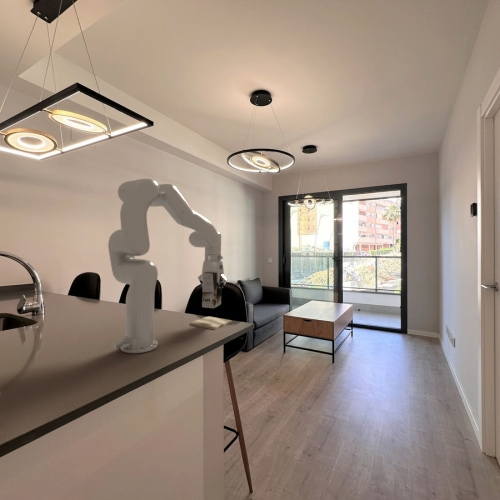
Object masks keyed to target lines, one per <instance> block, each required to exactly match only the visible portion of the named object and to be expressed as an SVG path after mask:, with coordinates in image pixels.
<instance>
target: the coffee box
mask: <svg viewBox="0 0 500 500" xmlns="http://www.w3.org/2000/svg"><path fill="white" fill-rule="evenodd" d="M216 275H217V273H207V272H205V273H203V286H202V293H201V294H202V297H201V298H202V299H201V301H202V302H201V307H202V308H205V309H207V308H209V309H215V308H218V307H219V306H220V305H221V304H222V296H220V297H217V288H218V287H217V282H216Z"/></svg>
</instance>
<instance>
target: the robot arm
mask: <svg viewBox="0 0 500 500" xmlns="http://www.w3.org/2000/svg"><path fill="white" fill-rule="evenodd" d="M117 196H118V197H119V199H120V200H121V202H122V205H121V208H120V210H119V211H120V213H119V215H120V216H119V217H120V229H117V230H115V231H113V233H111V235H110V236H109V238H108V243H107V245H108V246H107V248H108V253H109V254H108V255H109V262H110V267H111V272H112V276H113V278H114V279H115V280H116V281H117V282H119V283H120V284H125V285H129V287H128V290H127V293H126V297H125V329H124V331H125V332H124V333H125V335H124V336H122V339H121V340H120V341H118V342H114V343H112V348H113V350H117V349H120V351H121V352H124V353H127V354H142V353H147V352H151V351H153V350H155V349H157V348H158V346H159V343H158V341H157V340H156V339H154V336H155V335H154V334H155V332H154V330H155V329H154V328H155V294H156V293H155V291H156V285H157V280H158V275H159V273H158V268H157V265H155V263H154V262H152V261H151V260H148V259H141V258H136V257H141V256H145V255H146V254H148V252H149V250H150V245H151V244H150V243H151V242H150V237H149V235H150V234H149V228H148V227H149V226H148V219H147V216H148V215H147V214H148V211H149V208H151V207H153V208H154V207H163V208H164V209H165V211H167V213H168V214H169V216H171V218H172V219H173V220H174V222H175V223H176V224H178V225H181V226H182V227H185V228H188V229H190V230H194V231H192V232H191V233H190V234H189V237H188V242H189V244H190V245H191V246H192V247H195V248H204V260H203V264H202V269H201V274H200V275H199V276H198V277H197V279H198V281H199V284H201V285H200V286H201V287H203V273H205V272H207V273H217V275H216V282H217V287H218V288H217V297H220V296H221V297H222V294H223V288H224V286H225V285H226V283H227V282H228V279H227V278H226V276H225V270H224V264H223V261H222V260H223V256H222V233H220V232H218V230H217V229H216V228H215V226H214V225H213V223H212V222H211V221H209V220H208V219H207V218H206V217H204V216H202V214H199V213H198V212H196V211H195V210H194V209H193V208H192V207H191V206H190V204H189V203H188V202H187V200H186V199H185V197H184V196H183V195H182V193H181V192H180V191H179V189H178V188H177V187H176V186H175V185H174V184H172V183H162V184H158V182H157V181H155V180H154V179H151V178H139V179H135V180H128V181H125V182H122V183H121V184H120V185H119V186H118V188H117Z"/></svg>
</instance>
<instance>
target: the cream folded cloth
mask: <svg viewBox="0 0 500 500" xmlns="http://www.w3.org/2000/svg"><path fill="white" fill-rule="evenodd" d="M232 322H233V320H231V319H225V318H219V317H214V316H205V317H202V318H200V319H199V318H198V319H197V320H194V321H190V322H189V325H190V326H194V327H200V328H203V329H210V330H218V329H220V328H222V327H224V326H226V325H229V324H232Z"/></svg>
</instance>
